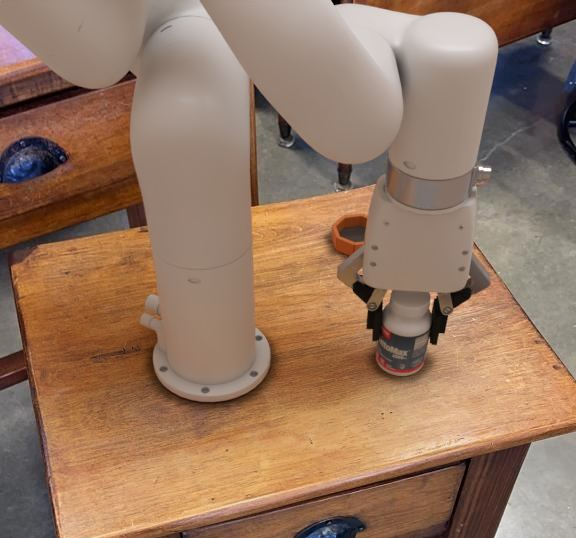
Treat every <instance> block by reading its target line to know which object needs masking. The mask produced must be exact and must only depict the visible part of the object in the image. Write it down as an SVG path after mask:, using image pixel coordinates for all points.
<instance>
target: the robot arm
mask: <svg viewBox="0 0 576 538" xmlns="http://www.w3.org/2000/svg"><path fill="white" fill-rule="evenodd" d="M0 26H1V27H2V28H3V29H4V30H5V31H7V33H9V34H10V35H11V36H12V37H13V38H14V39H16V41H18V42H19V43H20V44H21V45H22V46H24V47H25V48H26V49H27V50H28V51H30V52H31V53H32V54H33V55H34V56H35V57H36V58H37V59H39V60H40V62H42V63H43V64H45V66H47V67H48V68H49V69H50V70H51V71H52V72H53V73H55V74H56V75H57V76H59V77H60V78H62V79H63V80H65V81H67V82H69V83H71V84H73V85H74V86H76V87H81V88H83V89H90V90H98V89H106V88H109V87H112V86H113V85H115V84H117V83H118V82H119V81H121V80H122V79H123V78H124V77H125V76H126V75H127V74H128V72H131V73H132V74H133V75H134V76H135V77H136V80H135V85H134V91H133V97H132V103H131V109H130V110H131V111H130V119H129V121H130V122H129V143H130V150H131V157H132V162H133V167H134V170H135V174H136V178H137V182H138V186H139V190H140V193H141V199H142V203H143V208H144V214H145V220H146V226H147V234H148V240H149V245H150V246H149V247H150V250H151V256H152V261H153V262H152V264H153V269H154V276H155V277H154V278H155V281H156V282H155V283H156V288H157V289H156V290H157V294H155V293H150V294H149V295H148V296H147V297H146V299H145V301H144V309H145V310H146V311H148V312H150V313H152V314H154V315H156V316H159V317H161V318H160V319H159V318H157V317H155V316H153V315H152V314H149V313H147V312H144V313H142V314H141V316H140V317H139V323H140V325H141V326H143V327H145V328H147V329H149V330H153V331H154V332H155V334H156V337H157V342H156V343H155V346H154V348H153V351H152V352H153V353H152V363H153V369H154V373H155V375H156V377H157V379H158V380H159V382H160V383H161V385H163V386H164V387H165V389H167V390H168V391H170V392H171V393H173V394H175V395H176V396H178V397H181V398H184V399H187V400H190V401H196V402H200V403H216V402H224V401H229V400H233V399H236V398H239V397H241V396H244V395H245V394H247V393H249V392H250V391H252V390H254V389H255V388H256V387H257V386H259V385H260V384H261V383H262V381H263V380H264V379H265V377H266V376H267V374H268V373H269V370H270V368H271V360H272V359H271V357H272V356H271V348H270V347H271V346H270V344H269V341H268V339H267V338H266V335H264V333H263V332H262V331H261V330H260V329H259V328H258V327H256V305H255V301H256V300H255V274H254V273H255V272H254V242H253V240H254V239H253V222H252V221H253V220H252V219H253V218H252V190H251V122H250V121H251V96H250V87H251V82H252V84H254V86H255V87H256V88H257V89H258V91H259V92H260V93H261V94H262V96H263V97H264V98H265V99H266V101H267V102H268V103H269V104H270V105H271V106H272V107H273V109H274V110H275V111H276V112H277V113H278V114H279V116H281V117H282V119H284V120H285V121H286V123H287V124H288V125H289V127H291V128H292V129H293V131H294V132H295V133H296V134H297V135H298V136H299V137H300V138H301V139H302V140H303V141H304V142H305V143H306V144H307V145H308V146H309V147H311V149H312V150H314V151H315V152H317V153H318V154H320V155H321V156H323V157H324V158H325V159H328V160H331V161H333V162H336V163H340V164H343V165H360V164H364V163H365V164H366V163H368V162H370V161H372V160H374V159H376V158H378V157H379V156H381V155H383V154H384V153H385V152H386V150H388V154H387V161H386V170H385V171H386V172H385V173H384V174H382V175H380V176H379V177H378V179H377V180H376V182H375V185H374V188H373V192H372V195H371V199H370V203H369V208H368V213H367V216H368V218H367V224H366V230H365V237H364V244H363V245H362V246H361V247H360V248H359V249H357V250H356V251H355V252H354V253H353V254H352V255H350V256H349V255H348V257H347V258H345V259H344V260H343V261H342V262H341V263H340V264H338V266H337V268H336V278H337V279H338V280H339V281H340V282H342V284H344V285H345V286H346V287H348V288H350V289H352V292H353V293H354V294H355V296H356V297H357V298H359V299H360V300H361V302H363V303H364V304H365V307H366V309H367V314H366V325H365V327H366V328H365V329H366V330H372V332H371V333H372V334H371V339H372V340H371V342H376V343H378V340H379V338H380V330H381V322H382V314H383V309H384V298H385V296H386V294H387V293H388V291H392V290H401V291H418V292H429V293H436V296H435V297H434V298H433V303H432V308H431V314H432V326H431V331H430V337H429V344H431V346H437V345H438V341H439V335H440V334H445V333H446V329H447V324H448V318H449V316H451V314H453V312H454V309H455V308H457V307H459V306H460V305H462V304H463V303H465V302H467V301H468V300H470V299H471V297H472V296H474V295H477V294H478V293H481V292H482V291H484V290H486V289H488V288H489V287H490V286H491V283H492V282H491V274H490V272H488V270H487V269H486V268H485V266H484V265H483V263H482V262H481V261H480V259H479V258H478V257H477V256H476V255H475V253H474V252H473V250H474V243H475V236H476V222H477V210H478V209H477V208H478V187H477V184H481V183H490V180H491V176H492V165H487V164H486V165H484V164H483V163H479V159H478V155H479V151H480V145H481V140H482V134H483V130H484V125H485V120H486V115H487V110H488V105H489V101H490V96H491V91H492V86H493V81H494V77H495V71H496V67H497V63H498V54H499V41H498V37H497V35H496V33H495V30H494V29H493V28H492V27H491V25H489V24H488V22H486V21H484V20H483V19H481V18H479V17H476V16H474V15H470V14H466V13H462V12H455V11H440V12H433V13H428V14H425V15H417V14H411V13H405V12H401V11H395V10H390V9H385V8H380V7H377V6H372V5H367V4H361V3H340V4H335V5H334V3H333V2H332V0H0ZM361 269H362V274H359V271H360V270H361Z"/></svg>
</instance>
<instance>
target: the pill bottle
mask: <svg viewBox="0 0 576 538" xmlns="http://www.w3.org/2000/svg"><path fill="white" fill-rule="evenodd" d="M431 297H432V296H431V292H418V291H401V290H391V293H390V298H389V302H388V303H387V304H386V305H385V307H383V314H382V322H381V330H380V338H379V340H377V344H376V351H375V360H376V363H377V364H378V366H379V367H380V368H381V370H383V371H384V372H386V373H388V374H390V375H393V376H398V377H407V376H410V375H413V374H416V373H417V372H419V371H420V370H421V369H422V368H423V366H424V364H425V361H426V356H427V350H428V347H429V342H430V331H431V326H432V314H431V313H432V311H431V310H430V305H431V299H432V298H431Z"/></svg>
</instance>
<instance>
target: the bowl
mask: <svg viewBox="0 0 576 538" xmlns="http://www.w3.org/2000/svg"><path fill="white" fill-rule="evenodd" d="M367 218H368V214H364V213H353V214H347V215H342V216H341V217H339V218H338V219H337V220H336V221H335V222H334V223H333V224H332V225H331V237H330V239H331V241H332V244H333V246H334V249H335V250H336V252H339V253H342V254H344V255H346V256H348V257H349V256H350V255H352V254H353V253H354V252H355V251H356V250H357V249H359V248H360V247H361V246H362V245H363V244H364V237H365V230H366V224H367Z"/></svg>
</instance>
